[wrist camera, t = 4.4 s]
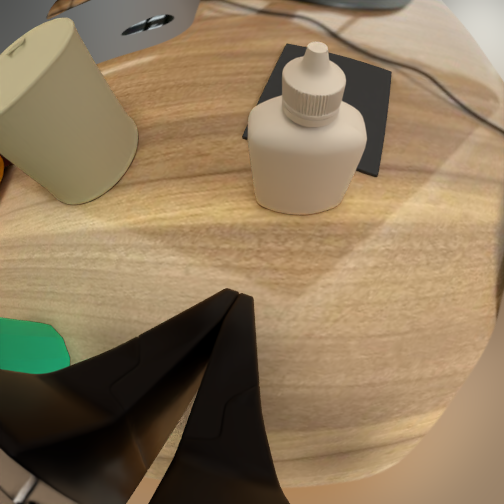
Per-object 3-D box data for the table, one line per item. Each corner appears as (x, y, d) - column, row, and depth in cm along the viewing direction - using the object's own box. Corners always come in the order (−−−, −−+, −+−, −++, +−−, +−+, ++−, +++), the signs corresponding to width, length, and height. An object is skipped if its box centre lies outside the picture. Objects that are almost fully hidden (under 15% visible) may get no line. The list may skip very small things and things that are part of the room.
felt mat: (376, 177, 20) (378, 175, 20) (242, 138, 22) (242, 136, 21) (390, 73, 23) (391, 71, 23) (286, 45, 24) (286, 43, 24)
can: (126, 96, 24) (70, -3, 12) (152, 167, 22) (73, 49, 10) (45, 146, 23) (-29, 72, 12) (55, 225, 21) (-53, 156, 10)
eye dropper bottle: (276, 150, 21) (274, 4, 10) (349, 185, 20) (407, 50, 9) (244, 199, 20) (213, 57, 9) (321, 239, 19) (376, 119, 8)
